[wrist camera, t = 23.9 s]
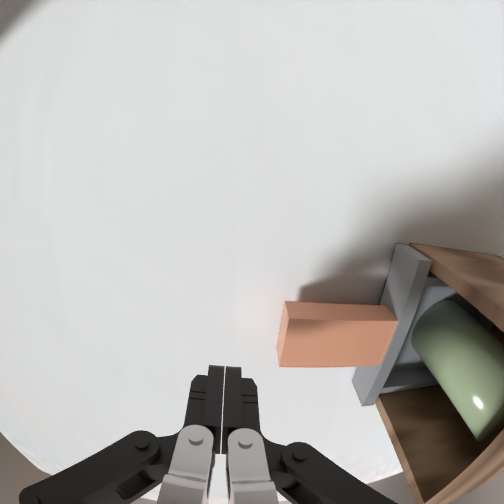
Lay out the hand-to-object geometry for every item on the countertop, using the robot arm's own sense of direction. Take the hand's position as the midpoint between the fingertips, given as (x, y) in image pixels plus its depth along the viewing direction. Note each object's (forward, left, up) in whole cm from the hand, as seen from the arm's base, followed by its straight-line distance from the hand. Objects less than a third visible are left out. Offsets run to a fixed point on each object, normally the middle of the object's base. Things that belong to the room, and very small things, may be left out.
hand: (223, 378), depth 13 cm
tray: (+10, +6, -6) cm, 14 cm away
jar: (+14, +8, -5) cm, 17 cm away
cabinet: (+15, +9, -6) cm, 18 cm away
